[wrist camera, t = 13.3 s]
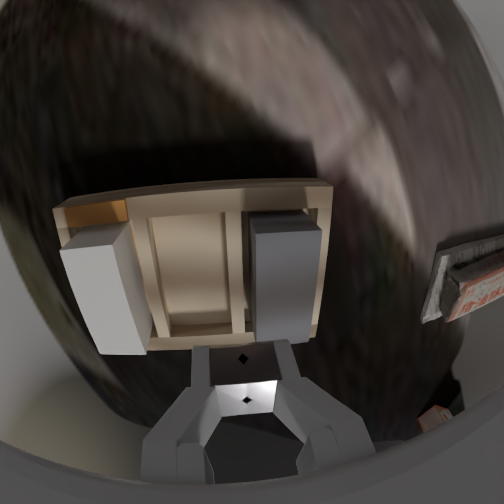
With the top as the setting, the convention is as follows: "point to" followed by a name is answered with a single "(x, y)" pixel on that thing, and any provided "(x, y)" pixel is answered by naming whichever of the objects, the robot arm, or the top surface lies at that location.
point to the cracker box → (434, 417)
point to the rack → (221, 255)
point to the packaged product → (465, 279)
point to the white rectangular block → (109, 288)
